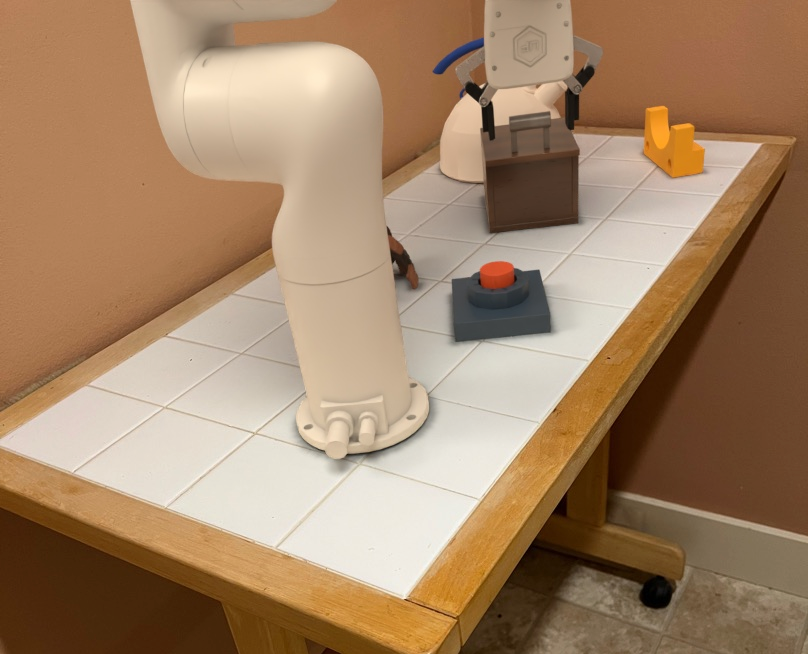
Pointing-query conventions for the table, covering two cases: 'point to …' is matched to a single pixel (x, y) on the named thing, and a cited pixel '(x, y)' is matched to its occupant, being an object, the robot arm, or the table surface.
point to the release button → (497, 275)
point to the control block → (500, 307)
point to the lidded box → (531, 193)
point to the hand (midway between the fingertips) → (530, 132)
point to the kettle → (466, 118)
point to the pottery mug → (402, 259)
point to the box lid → (529, 140)
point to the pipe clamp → (671, 144)
